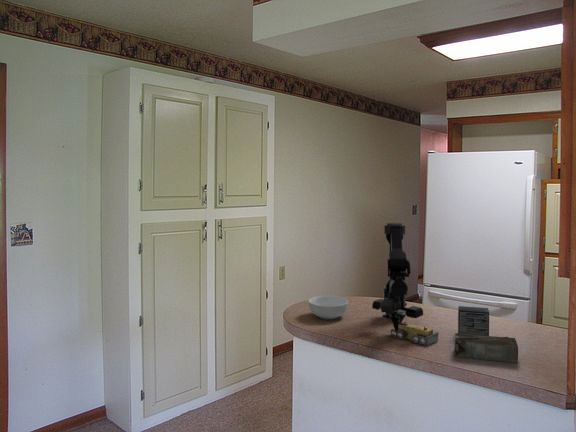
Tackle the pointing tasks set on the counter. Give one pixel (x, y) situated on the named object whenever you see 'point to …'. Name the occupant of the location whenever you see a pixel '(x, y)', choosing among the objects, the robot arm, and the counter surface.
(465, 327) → the small box
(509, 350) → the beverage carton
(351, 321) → the counter surface
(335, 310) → the cereal bowl
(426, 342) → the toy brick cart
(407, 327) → the brass block with pegs
